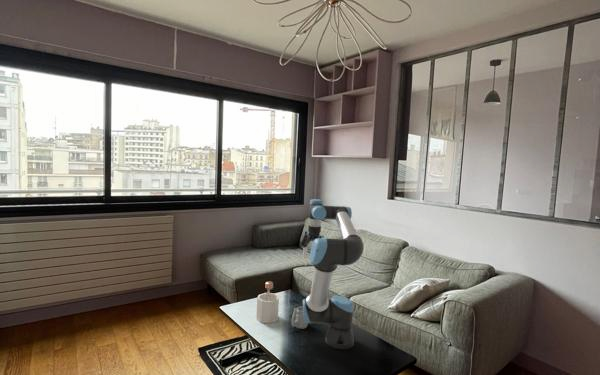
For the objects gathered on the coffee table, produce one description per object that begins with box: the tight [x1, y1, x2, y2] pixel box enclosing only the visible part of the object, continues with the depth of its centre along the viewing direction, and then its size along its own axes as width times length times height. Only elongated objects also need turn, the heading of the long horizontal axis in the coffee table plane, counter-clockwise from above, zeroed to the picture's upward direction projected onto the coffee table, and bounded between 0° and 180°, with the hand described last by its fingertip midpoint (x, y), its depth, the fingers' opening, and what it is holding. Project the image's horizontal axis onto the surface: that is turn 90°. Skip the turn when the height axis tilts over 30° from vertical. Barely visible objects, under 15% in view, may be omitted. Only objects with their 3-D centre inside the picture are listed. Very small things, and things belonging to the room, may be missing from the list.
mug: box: [290, 306, 309, 330], centre depth 189 cm, size 8×12×12 cm, turn 136°
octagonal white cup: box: [256, 292, 280, 324], centre depth 198 cm, size 16×12×13 cm
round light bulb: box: [264, 281, 274, 301], centre depth 196 cm, size 9×9×18 cm
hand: (312, 260), depth 200 cm, fingers open, 13 cm apart
